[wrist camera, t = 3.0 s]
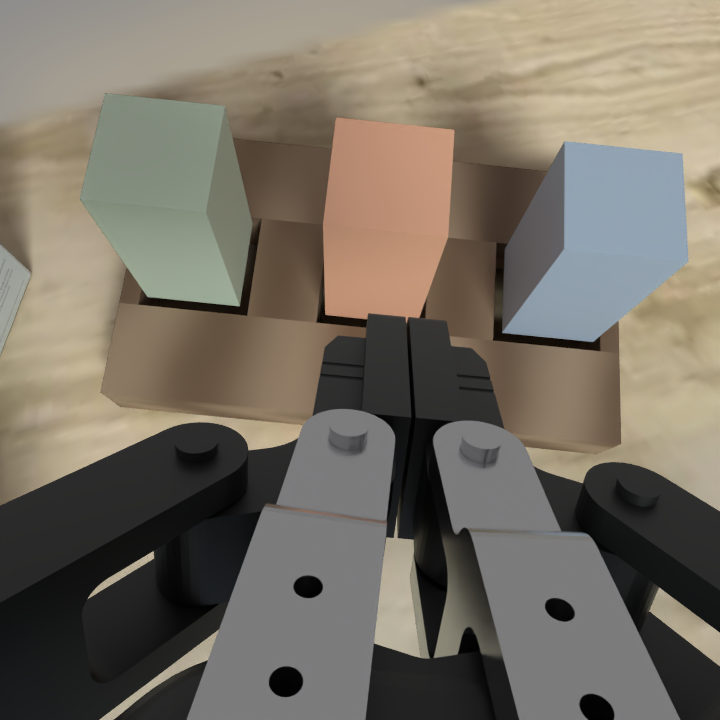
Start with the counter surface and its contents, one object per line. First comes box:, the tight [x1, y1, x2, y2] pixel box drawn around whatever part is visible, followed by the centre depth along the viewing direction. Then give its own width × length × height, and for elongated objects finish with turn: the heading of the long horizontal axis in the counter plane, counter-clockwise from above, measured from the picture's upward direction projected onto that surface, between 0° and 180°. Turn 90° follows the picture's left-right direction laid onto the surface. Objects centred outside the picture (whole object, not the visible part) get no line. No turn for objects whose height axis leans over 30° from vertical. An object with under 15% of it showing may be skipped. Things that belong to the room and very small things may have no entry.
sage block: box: [80, 93, 252, 306], centre depth 28 cm, size 4×4×9 cm
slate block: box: [502, 141, 688, 342], centre depth 29 cm, size 4×4×9 cm
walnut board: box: [101, 139, 621, 454], centre depth 34 cm, size 24×14×3 cm, turn 85°
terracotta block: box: [323, 117, 455, 323], centre depth 28 cm, size 4×4×9 cm
